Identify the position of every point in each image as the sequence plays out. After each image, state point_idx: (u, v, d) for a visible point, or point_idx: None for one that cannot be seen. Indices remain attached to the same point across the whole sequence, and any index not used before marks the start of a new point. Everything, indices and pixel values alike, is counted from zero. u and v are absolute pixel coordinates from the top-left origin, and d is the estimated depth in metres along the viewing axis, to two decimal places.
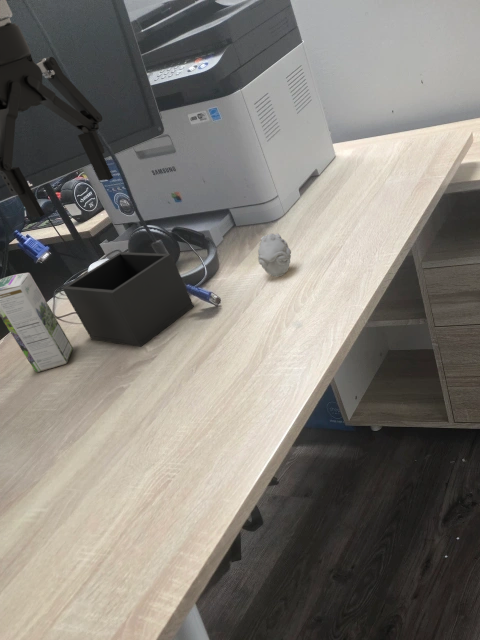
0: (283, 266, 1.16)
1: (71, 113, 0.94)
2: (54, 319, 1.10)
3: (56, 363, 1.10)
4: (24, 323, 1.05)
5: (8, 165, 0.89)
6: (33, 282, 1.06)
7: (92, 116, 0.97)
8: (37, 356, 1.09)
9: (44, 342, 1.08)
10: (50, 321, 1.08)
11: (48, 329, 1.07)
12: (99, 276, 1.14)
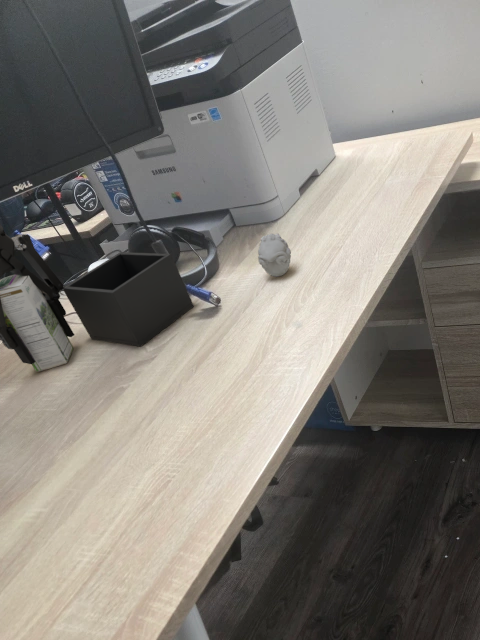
0: (283, 266, 1.16)
1: (36, 282, 1.06)
2: (55, 319, 1.10)
3: (57, 363, 1.11)
4: (25, 322, 1.05)
5: (3, 327, 1.03)
6: None
7: (54, 284, 1.09)
8: (37, 356, 1.09)
9: (44, 342, 1.08)
10: (50, 321, 1.09)
11: (49, 328, 1.07)
12: (99, 276, 1.14)
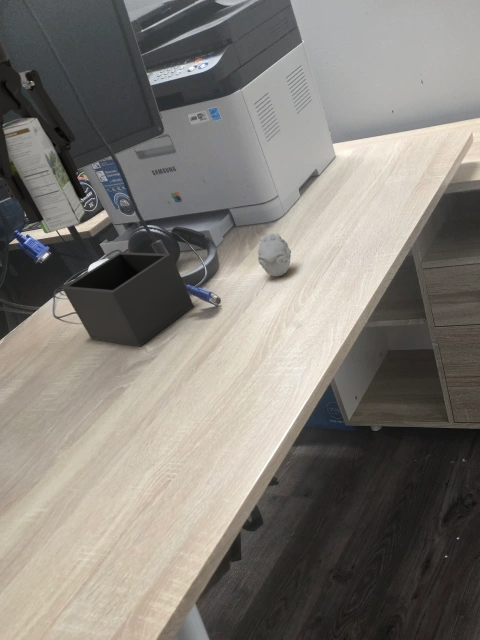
0: (283, 266, 1.16)
1: (45, 128, 0.96)
2: (65, 174, 1.00)
3: (67, 223, 1.00)
4: (32, 171, 0.95)
5: (8, 172, 0.93)
6: None
7: (64, 134, 0.99)
8: (46, 213, 0.99)
9: (54, 196, 0.98)
10: (61, 174, 0.98)
11: (58, 180, 0.97)
12: (99, 276, 1.14)
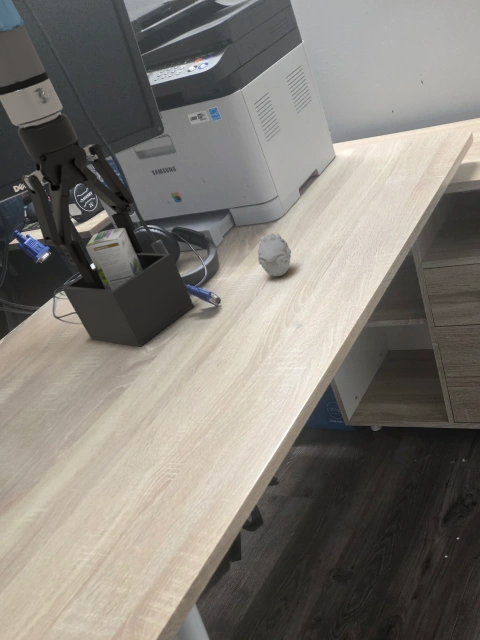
0: (283, 266, 1.16)
1: (108, 194, 1.05)
2: None
3: None
4: (118, 276, 1.09)
5: (69, 240, 1.01)
6: (128, 237, 1.10)
7: (125, 197, 1.08)
8: None
9: None
10: None
11: None
12: (99, 276, 1.14)
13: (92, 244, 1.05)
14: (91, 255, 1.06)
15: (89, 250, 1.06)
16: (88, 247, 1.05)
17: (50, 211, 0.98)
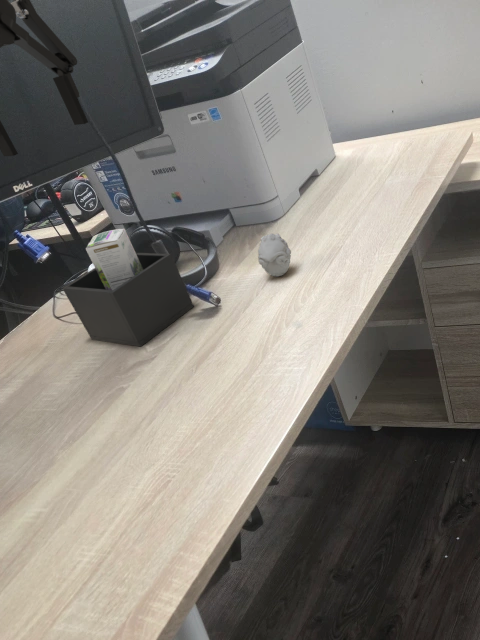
0: (283, 266, 1.16)
1: (45, 54, 0.96)
2: None
3: None
4: (118, 277, 1.09)
5: None
6: (127, 238, 1.10)
7: (67, 59, 0.99)
8: None
9: None
10: None
11: None
12: None
13: (92, 246, 1.05)
14: (91, 257, 1.06)
15: (89, 252, 1.06)
16: (88, 249, 1.05)
17: None
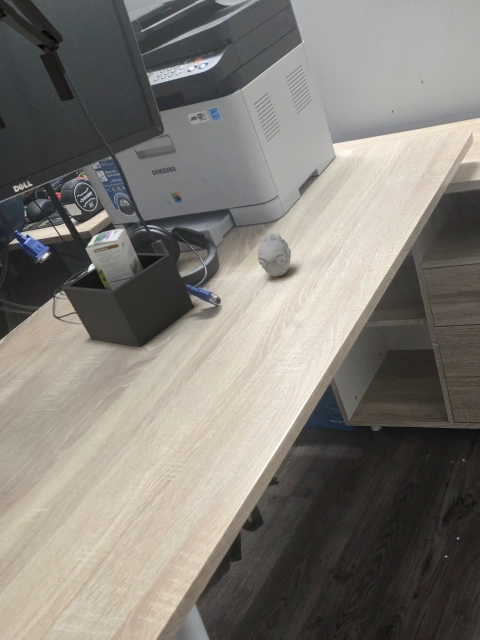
0: (283, 266, 1.16)
1: (31, 31, 0.99)
2: None
3: None
4: (118, 277, 1.09)
5: None
6: (127, 238, 1.10)
7: (53, 36, 1.02)
8: None
9: None
10: None
11: None
12: (99, 276, 1.14)
13: (92, 246, 1.05)
14: (91, 257, 1.06)
15: (89, 252, 1.06)
16: (88, 249, 1.05)
17: None
